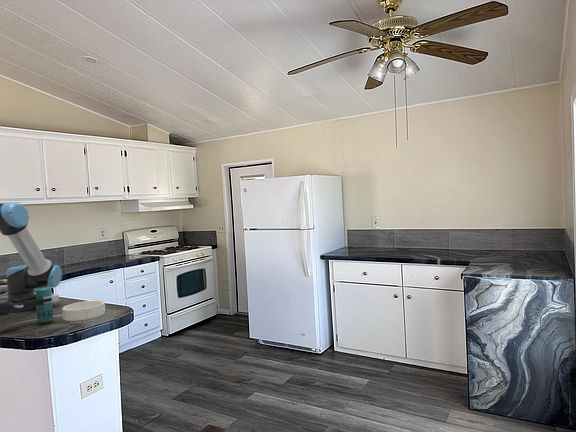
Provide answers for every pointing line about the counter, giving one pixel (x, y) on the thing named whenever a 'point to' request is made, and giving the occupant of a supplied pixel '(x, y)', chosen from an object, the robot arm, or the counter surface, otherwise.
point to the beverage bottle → (45, 311)
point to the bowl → (83, 310)
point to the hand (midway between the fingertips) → (55, 296)
